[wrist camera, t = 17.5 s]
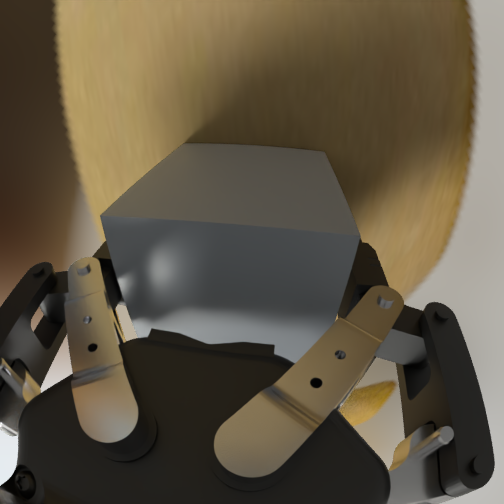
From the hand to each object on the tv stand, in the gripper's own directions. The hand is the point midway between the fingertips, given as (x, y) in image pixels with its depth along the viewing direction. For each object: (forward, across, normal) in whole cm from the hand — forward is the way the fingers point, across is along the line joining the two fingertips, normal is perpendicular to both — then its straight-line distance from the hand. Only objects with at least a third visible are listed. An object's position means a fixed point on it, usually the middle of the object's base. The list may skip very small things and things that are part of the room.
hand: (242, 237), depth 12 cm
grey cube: (+3, 0, 0) cm, 3 cm away
